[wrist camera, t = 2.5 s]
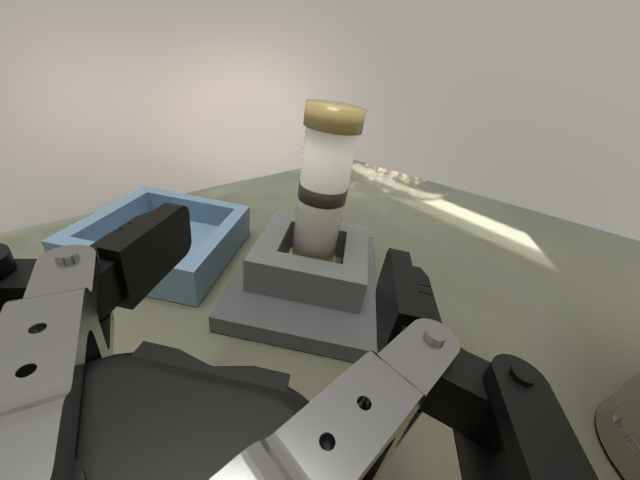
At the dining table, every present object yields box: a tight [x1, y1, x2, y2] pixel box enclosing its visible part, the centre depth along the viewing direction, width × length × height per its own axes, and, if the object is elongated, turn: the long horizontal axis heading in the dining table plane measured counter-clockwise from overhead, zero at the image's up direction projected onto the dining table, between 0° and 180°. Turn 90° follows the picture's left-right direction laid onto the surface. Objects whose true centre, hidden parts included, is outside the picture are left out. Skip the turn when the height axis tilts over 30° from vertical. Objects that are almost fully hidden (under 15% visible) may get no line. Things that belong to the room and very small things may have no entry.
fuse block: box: [209, 209, 377, 363], centre depth 27 cm, size 12×16×4 cm
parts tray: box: [41, 186, 250, 307], centre depth 28 cm, size 12×12×4 cm
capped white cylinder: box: [289, 99, 367, 263], centre depth 24 cm, size 4×4×14 cm
